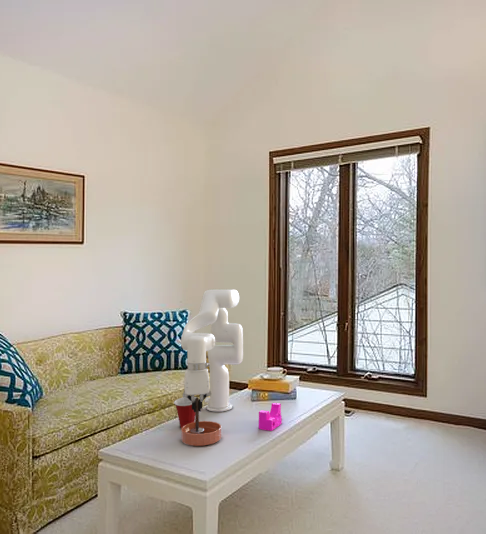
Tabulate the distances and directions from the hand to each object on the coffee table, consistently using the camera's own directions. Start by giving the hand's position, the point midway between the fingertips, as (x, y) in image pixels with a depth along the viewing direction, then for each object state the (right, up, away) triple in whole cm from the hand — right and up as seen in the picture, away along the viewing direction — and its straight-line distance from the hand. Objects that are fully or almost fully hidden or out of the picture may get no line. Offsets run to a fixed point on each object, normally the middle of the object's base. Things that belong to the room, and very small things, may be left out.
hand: (197, 410), depth 201 cm
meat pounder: (0, -11, 0) cm, 11 cm away
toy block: (+30, -12, +18) cm, 38 cm away
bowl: (+2, -12, 0) cm, 12 cm away
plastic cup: (-8, -12, +16) cm, 21 cm away
